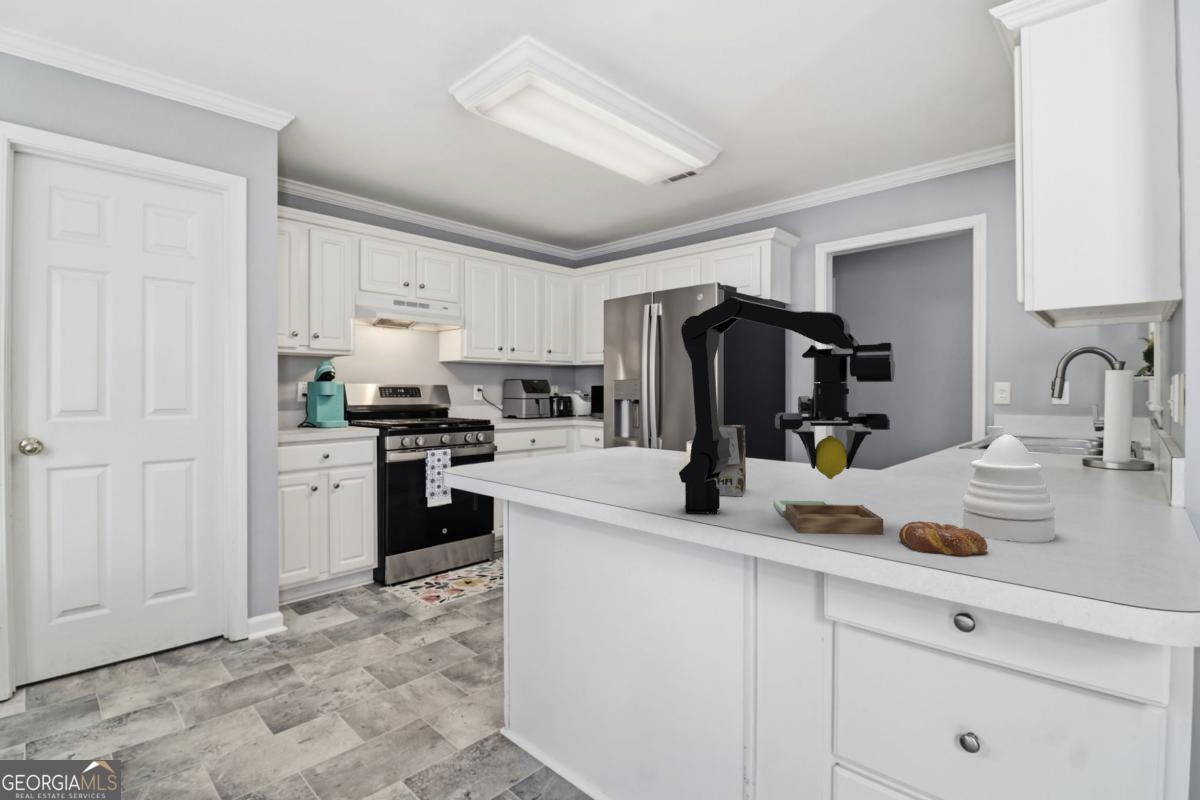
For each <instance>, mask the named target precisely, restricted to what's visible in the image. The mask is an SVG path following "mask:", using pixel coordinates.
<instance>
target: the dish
mask: <svg viewBox="0 0 1200 800" xmlns="http://www.w3.org/2000/svg"><path fill="white" fill-rule="evenodd" d="M772 501H773V502H772V503H773V505H774V506H773V507H774V508H775V510H776V511H777V510H778V511H777V512H778V513H779V514H780V515H782V516H781V517H782V518H786V504H825V505H833V503H831V502H830V501H829V500H823V499H821V500H820V499H815V500H814V499H813V500H812V499H811V500H810V499H773V500H772Z"/></svg>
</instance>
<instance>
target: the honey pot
mask: <svg viewBox="0 0 1200 800" xmlns="http://www.w3.org/2000/svg"><path fill="white" fill-rule="evenodd" d="M986 430H987V433H988V435H989V436H990V437H991V438H993V439H994V440H993V441H992V442H991V443H990V444H989V445H988V447H987V449H986V450H985V451H984V452H983V454H982V457H981V458H980V459H976V460H975V459H974V460H973V461H970V466H971V468H974V469H975V471H974V473H973V475H972V478H971V479H970V480H969V486H968V487H967V492H966V494H965V495H964V496H963V499H962V502H963V504H962V508H963V509H962V528H964V529H969V530H972V531H974V532H976V533H979V534H980V535H981V536H983V538H985V537H988V538H987V539H990V538H993V539H992V540H996V539H1000V540H999V541H1003V540H1009V541H1008V542H1013V541H1020V542H1019V543H1029V542H1034V543H1046V542H1045V541H1048V542H1051V541H1050V540H1052V541H1054V540H1055V536H1056V535H1055V534H1056V533H1055V532H1056V525H1055V524H1056V521H1055V520H1056V519H1055V517H1054V516H1055V511H1056V509H1055V504H1054V503H1053V501H1052V500H1051V499H1050V498H1051V495H1050V493H1049V492H1048V490H1047V488H1048V485H1047V484H1046V483H1044V480H1043V478H1042V474H1041V473H1040V471H1042V469H1043V466H1042V465H1041V464H1039V463H1036V462H1035V460H1034V458H1033V456H1032V455H1031V453H1030V452H1029V450H1028V449H1027V447H1026V446H1025V444H1023V443H1022V442H1021V440H1020V439H1018V438H1017V437H1015V436H1014V435H1011V434H1004V433H1005V426H999V425H994V426H993V425H991V426H990V425H989V426H986ZM1053 539H1054V540H1053Z"/></svg>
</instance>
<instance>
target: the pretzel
mask: <svg viewBox="0 0 1200 800" xmlns="http://www.w3.org/2000/svg"><path fill="white" fill-rule="evenodd" d="M898 537H899V540H900V542H901V543H902V544H904V545H905V544H906V545H905V546H907V545H908V547H909V548H911V549H912V550H914V551H916V550H917V551H916V552H922V553H926V552H927V553H928V554H943V555H946V554H951V555H955V556H958V555H966V556H971V555H983V554H985V553H986V552H987V550H988V547H989V545H988V543H987V540H986V538H985V537H982V536H981V535H980V534H979V533H976V532H974V531H972V530H969V529H964V528H963V527H961V528H960V527H958V526H957V525H954V524H948V523H946V524H942V525H941V524H940V523H938V522H932V521H920V520H918V521H911V522H908V523H906V524H904V525H903V526H902V527H901V528H900V531H899V534H898ZM927 553H926V554H927ZM973 553H974V554H973Z"/></svg>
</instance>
